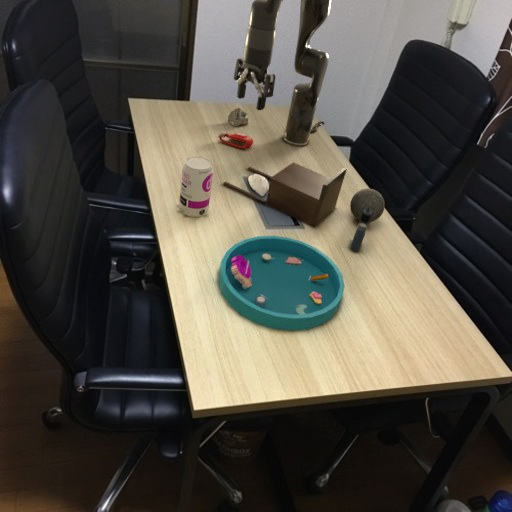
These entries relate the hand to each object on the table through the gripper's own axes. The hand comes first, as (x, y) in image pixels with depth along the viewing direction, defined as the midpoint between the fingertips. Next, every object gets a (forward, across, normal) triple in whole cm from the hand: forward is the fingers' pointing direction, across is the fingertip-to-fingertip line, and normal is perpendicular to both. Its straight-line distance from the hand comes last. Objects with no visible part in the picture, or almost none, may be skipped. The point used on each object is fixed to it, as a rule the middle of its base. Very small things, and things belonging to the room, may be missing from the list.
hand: (250, 103), depth 143 cm
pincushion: (+26, -4, -5) cm, 27 cm away
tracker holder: (+26, +23, -17) cm, 39 cm away
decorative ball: (+26, -33, -22) cm, 48 cm away
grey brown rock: (+26, +35, -28) cm, 52 cm away
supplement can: (+26, -6, +21) cm, 34 cm away
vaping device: (+26, -42, -10) cm, 50 cm away
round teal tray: (+26, -43, +21) cm, 54 cm away
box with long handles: (+26, -12, -7) cm, 30 cm away
